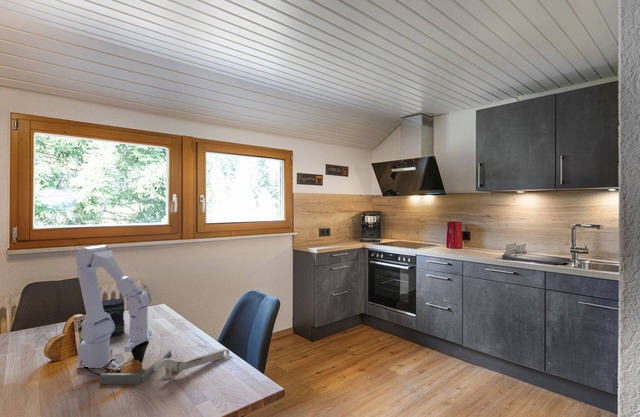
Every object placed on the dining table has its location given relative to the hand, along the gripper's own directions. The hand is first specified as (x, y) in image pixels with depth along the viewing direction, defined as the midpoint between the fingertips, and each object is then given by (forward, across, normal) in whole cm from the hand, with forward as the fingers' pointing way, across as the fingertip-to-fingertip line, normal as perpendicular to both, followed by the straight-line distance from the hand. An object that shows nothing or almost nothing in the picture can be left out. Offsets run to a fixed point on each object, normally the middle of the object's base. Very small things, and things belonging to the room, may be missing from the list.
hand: (138, 363), depth 122 cm
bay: (+2, -1, 0) cm, 2 cm away
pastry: (+2, -5, 0) cm, 5 cm away
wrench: (+2, -2, -21) cm, 21 cm away
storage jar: (+2, +32, +30) cm, 44 cm away
